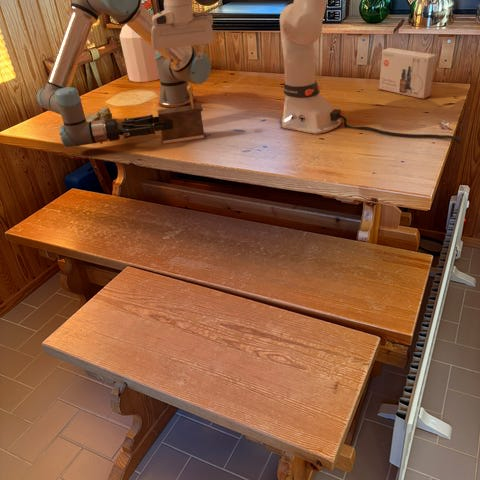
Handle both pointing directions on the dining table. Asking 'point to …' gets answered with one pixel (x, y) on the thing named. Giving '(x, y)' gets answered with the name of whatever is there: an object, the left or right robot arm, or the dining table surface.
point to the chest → (183, 127)
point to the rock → (100, 115)
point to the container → (138, 56)
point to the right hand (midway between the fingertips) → (185, 60)
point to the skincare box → (407, 72)
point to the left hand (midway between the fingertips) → (172, 121)
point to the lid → (181, 109)
